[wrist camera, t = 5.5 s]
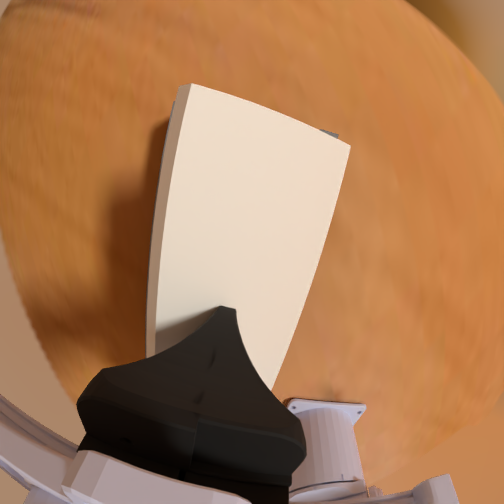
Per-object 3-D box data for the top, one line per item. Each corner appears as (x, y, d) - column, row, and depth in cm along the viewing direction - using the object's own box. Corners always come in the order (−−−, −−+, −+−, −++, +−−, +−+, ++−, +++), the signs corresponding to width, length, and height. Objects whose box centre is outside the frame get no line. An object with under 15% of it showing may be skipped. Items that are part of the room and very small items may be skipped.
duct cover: (262, 387, 19) (270, 394, 18) (150, 436, 13) (157, 446, 12) (338, 143, 13) (351, 146, 13) (178, 86, 7) (191, 83, 6)
